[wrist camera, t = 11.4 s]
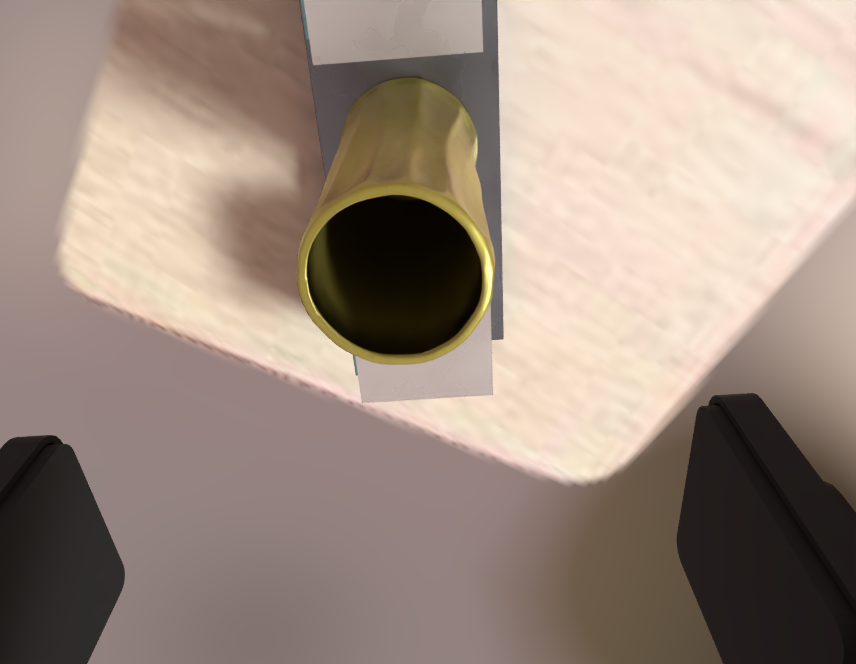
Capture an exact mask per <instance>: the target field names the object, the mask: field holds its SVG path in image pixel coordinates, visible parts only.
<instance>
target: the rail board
mask: <svg viewBox="0 0 856 664" xmlns="http://www.w3.org/2000/svg"><path fill="white" fill-rule="evenodd" d="M299 3H300V9H301V16H302V23H303V30H304V36H305V43H306V50H307V57H308V63H309V70H310V77H311V84H312V90H313V97H314V104H315V111H316V117H317V124H318V131H319V138H320V144H321V151H322V158H323V165H324V171H325V178H326V179H327V176H328V173H329V171H330V168H331V166H332V163H333V160H334V158H335V155H336V153H337V151H338V148H339V146H340V139H341V133H342V129H343V125H344V122H345V119H346V117H347V114H348V112H349V111H350V110H351V108H352V107H353V105H354V104H355V103H356V101H357V100H358V99H359V98H360V97H361V96H362V95H364V94H365V93H366V92H367V91H369V90H370V89H371V88H373V87H375V86H376V85H379V84H381V83H383V82H386V81H389V80H393V79H400V78H418V79H424V80H427V81H430V82H432V83H434V84H437V85H439V86H440V87H442V88H444V89H445V90H447V91H448V92H450V93H451V94H452V95H454V96H455V97H456V98H457V99H458V100H459V102H460V103H461V104H462V105H463V107H464V108H465V110H466V111H467V113H468V115H469V116H470V118H471V120H472V123H473V125H474V128H475V131H476V134H477V146H478V148H477V160H476V166H475V167H476V171H477V174H478V177H479V181H480V185H481V191H482V202H483V208H484V212H485V216H486V220H487V225H488V230H489V235H490V239H491V243H492V245H493V249H494V255H495V269H494V281H493V293H492V299H491V302H490V305H489V307H488V309H487V311H486V313H485V315H484V316H483V318H482V320H481V321H480V323H479V324H478V326H477V327H476V328H475V330H474V331H473V333H472V334H471V335H470V336H469V337H468V338H467V339H466V340H465V341H464V342H463V343H462V344H461V345H459V346H458V347H457V348H455V349H454V350H452V351H450V352H449V353H447V354H445V355H443V356H441V357H439V358H437V359H434V360H431V361H428V362H425V363H419V364H408V365H387V364H378V363H373V362H370V361H367V360H364V359H362V358H360V357H357V356H355V355H353V359H354V366H355V373H356V375H358V379H359V385H360V392H361V399H362V403H370V402H386V401H402V400H418V399H434V398H450V397H466V396H482V395H493V374H492V340H500V339H503V286H502V233H501V180H500V127H499V74H498V21H497V0H299Z"/></svg>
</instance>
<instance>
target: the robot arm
mask: <svg viewBox="0 0 856 664" xmlns="http://www.w3.org/2000/svg"><path fill="white" fill-rule="evenodd" d="M677 548H678V554H679V558H680V561H681V564H682V566H683V568H684V571H685V573H686V575H687V578H688V580H689V583H690V585H691V587H692V590H693V592H694V595H695V597H696V599H697V602H698V604H699V607H700V609H701V611H702V614H703V616H704V618H705V621H706V623H707V626H708V628H709V630H710V633H711V635H712V638H713V640H714V642H715V645H716V647H717V650H718V652H719V654H720V657H721V659H722V662H723V664H856V512H855V511H854V510H853V509H852V507H851V506H850V505H849V503H848V502H847V501H846V499H845V498H844V497H843V496H842V494H841V493H840V492H839V491H838V490H837V489H836V488H835V487H834V486H833V485H831V484H829V483H827V482H825V481H823V480H822V479H821V478H820V477H819V475H818V474H817V472H816V471H815V470H814V468H813V467H812V466H811V464H810V463H809V462H808V461H807V459H806V458H805V456H804V455H803V454H802V453H801V451H800V450H799V448H798V447H797V446H796V444H795V443H794V442H793V441H792V439H791V438H790V436H789V435H788V434H787V433H786V431H785V430H784V428H783V427H782V426H781V424H780V423H779V422H778V420H777V419H776V418H775V416H774V415H773V414H772V412H771V411H770V410H769V408H768V407H767V406H766V404H765V403H764V402H763V400H762V399H761V398H760V397H759V396H758V395H757V394H753V393H747V394H731V395H715V396H713V397H712V398H711V400H710V401H709V405H708V406H702V407H700V408H699V409H698V411H697V416H696V421H695V427H694V434H693V440H692V446H691V452H690V458H689V465H688V471H687V477H686V483H685V489H684V495H683V502H682V508H681V514H680V520H679V526H678V533H677ZM124 577H125V571H124V566H123V563H122V561H121V559H120V556H119V554H118V552H117V549H116V547H115V545H114V542H113V540H112V538H111V535H110V533H109V531H108V529H107V526H106V524H105V522H104V519H103V517H102V515H101V512H100V510H99V508H98V505H97V503H96V501H95V499H94V496H93V494H92V492H91V489H90V487H89V485H88V482H87V480H86V478H85V476H84V473H83V471H82V469H81V466H80V464H79V462H78V460H77V457H76V455H75V453H74V451H73V449H72V447H70V446H69V445H67V444H63V443H62V442H61V440H60V439H59V438H58V437H56V436H52V435H45V436H28V437H15V438H12V439H10V440H9V441H7V442H6V443H5V444H4V445H3V447H2V448H1V449H0V664H87V663H88V661H89V659H90V657H91V654H92V652H93V650H94V648H95V646H96V644H97V642H98V640H99V637H100V636H101V633H102V631H103V629H104V627H105V625H106V623H107V620H108V618H109V616H110V614H111V612H112V610H113V608H114V606H115V604H116V601H117V600H118V597H119V595H120V593H121V591H122V588H123V585H124V579H125V578H124Z"/></svg>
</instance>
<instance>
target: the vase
mask: <svg viewBox="0 0 856 664" xmlns="http://www.w3.org/2000/svg"><path fill="white" fill-rule="evenodd" d="M477 148H478V146H477V134H476V131H475V128H474V125H473V123H472V120H471V118H470V116H469V115H468V113H467V111H466V110H465V108H464V107H463V105H462V104H461V103H460V102H459V100H458V99H457V98H456V97H455V96H454V95H452V94H451V93H450V92H448V91H447V90H445V89H444V88H442V87H440V86H439V85H437V84H434V83H432V82H430V81H427V80H424V79H418V78H400V79H393V80H389V81H386V82H383V83H381V84H379V85H376V86H375V87H373V88H371V89H370V90H369V91H367V92H366V93H365V94H364V95H362V96H361V97H360V98H359V99H358V100H357V101H356V103H355V104H354V105H353V107H352V108H351V110H350V111H349V112H348V114H347V117H346V119H345V122H344V125H343V129H342V133H341V139H340V146H339V148H338V151H337V153H336V155H335V158H334V160H333V163H332V166H331V168H330V171H329V173H328V176H327V179H326V182H325V185H324V188H323V190H322V193H321V196H320V199H319V201H318V204H317V206H316V208H315V211H314V213H313V215H312V217H311V219H310V222H309V224H308V226H307V228H306V230H305V232H304V234H303V237H302V240H301V243H300V247H299V252H298V261H297V284H298V290H299V295H300V298H301V300H302V303H303V305H304V307H305V309H306V311H307V313H308V315H309V316H310V318H311V319H312V321H313V322H314V323H315V324H316V325H317V326H318V327H319V328H320V329H321V331H322V332H323V333H324V334H325V335H326V336H327V337H328V338H329V339H331V340H332V341H333V342H334V343H335V344H336V345H338V346H339V347H341V348H342V349H343V350H345V351H347V352H349V353H351V354H353V355H355V356H357V357H360V358H362V359H364V360H367V361H370V362H373V363H378V364H387V365H408V364H419V363H425V362H428V361H431V360H434V359H437V358H439V357H441V356H443V355H445V354H447V353H449V352H450V351H452V350H454V349H455V348H457V347H458V346H459V345H461V344H462V343H463V342H464V341H465V340H466V339H467V338H468V337H469V336H470V335H471V334H472V333H473V331H474V330H475V328H476V327H477V326H478V324H479V323H480V321H481V320H482V318H483V316H484V315H485V313H486V311H487V309H488V307H489V305H490V302H491V299H492V293H493V281H494V269H495V255H494V249H493V245H492V243H491V239H490V235H489V230H488V225H487V220H486V216H485V212H484V208H483V202H482V191H481V185H480V181H479V177H478V174H477V171H476V167H475V166H476V160H477Z"/></svg>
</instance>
